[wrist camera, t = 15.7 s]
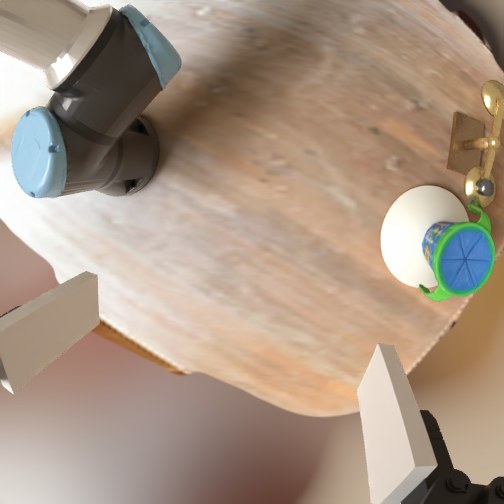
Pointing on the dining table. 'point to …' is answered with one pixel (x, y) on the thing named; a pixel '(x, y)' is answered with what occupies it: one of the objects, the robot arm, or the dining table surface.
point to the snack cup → (459, 256)
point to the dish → (416, 231)
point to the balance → (477, 146)
